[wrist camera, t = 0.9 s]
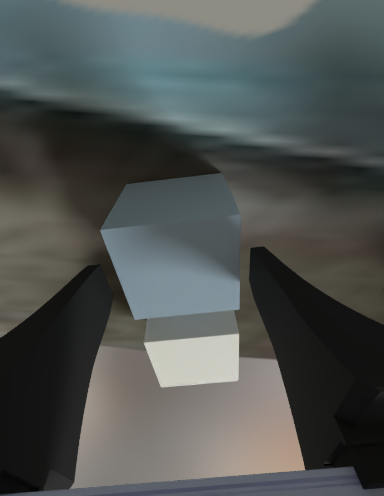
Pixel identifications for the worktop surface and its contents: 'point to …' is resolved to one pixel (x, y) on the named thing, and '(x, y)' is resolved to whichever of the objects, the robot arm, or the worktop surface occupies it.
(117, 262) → the cover
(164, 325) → the cover
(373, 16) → the worktop surface
